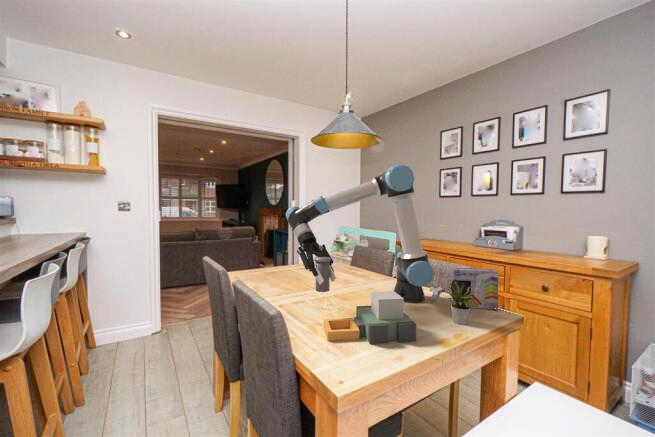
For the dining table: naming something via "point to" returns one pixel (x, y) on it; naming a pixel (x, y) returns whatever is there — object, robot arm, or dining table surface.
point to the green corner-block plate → (375, 321)
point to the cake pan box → (477, 286)
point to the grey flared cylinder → (323, 273)
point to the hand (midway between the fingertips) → (328, 281)
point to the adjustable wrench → (435, 293)
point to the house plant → (460, 305)
